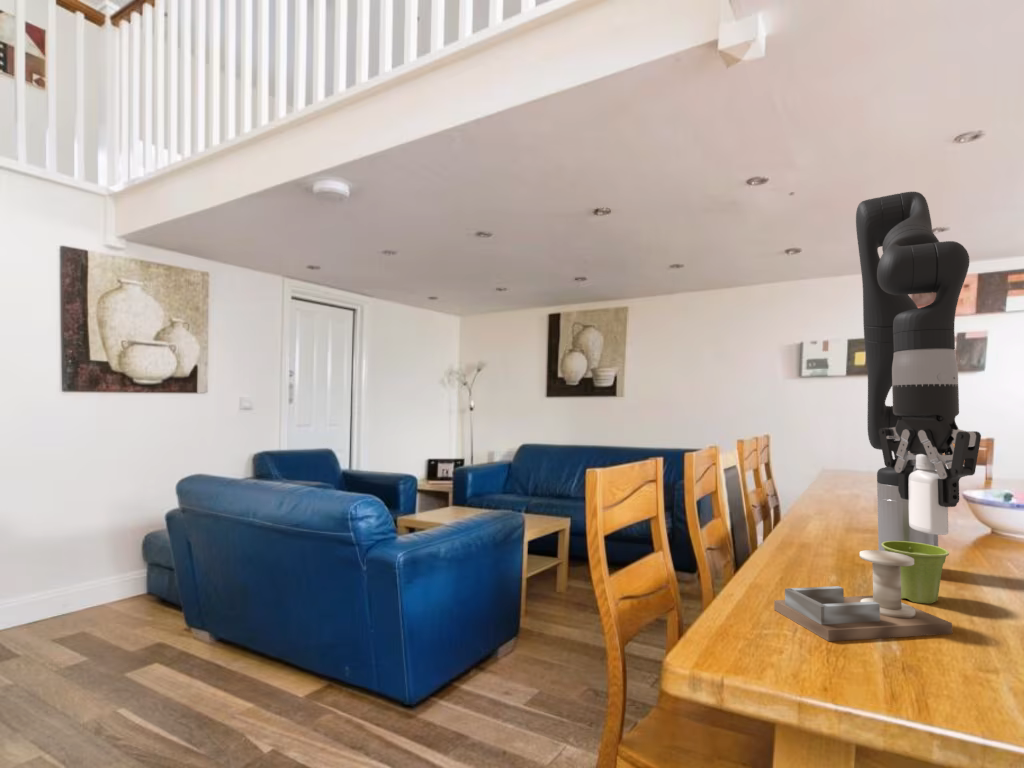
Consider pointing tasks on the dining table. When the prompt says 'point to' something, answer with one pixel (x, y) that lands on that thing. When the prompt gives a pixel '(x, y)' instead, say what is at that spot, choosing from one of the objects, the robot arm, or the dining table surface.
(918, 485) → the eye dropper bottle
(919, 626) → the board
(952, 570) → the dining table surface
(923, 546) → the plant pot
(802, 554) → the dining table surface
